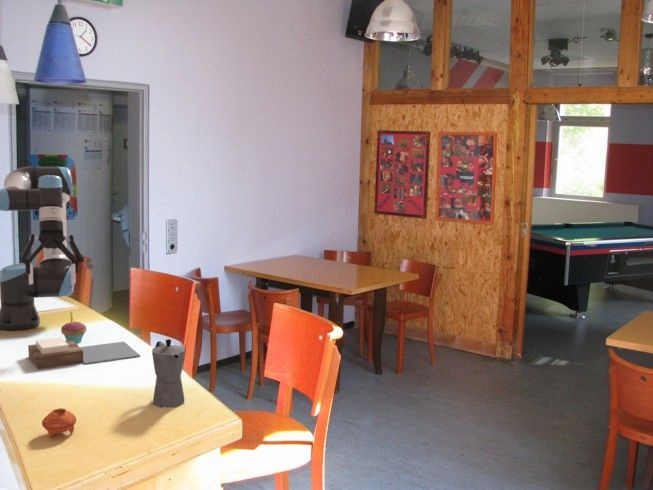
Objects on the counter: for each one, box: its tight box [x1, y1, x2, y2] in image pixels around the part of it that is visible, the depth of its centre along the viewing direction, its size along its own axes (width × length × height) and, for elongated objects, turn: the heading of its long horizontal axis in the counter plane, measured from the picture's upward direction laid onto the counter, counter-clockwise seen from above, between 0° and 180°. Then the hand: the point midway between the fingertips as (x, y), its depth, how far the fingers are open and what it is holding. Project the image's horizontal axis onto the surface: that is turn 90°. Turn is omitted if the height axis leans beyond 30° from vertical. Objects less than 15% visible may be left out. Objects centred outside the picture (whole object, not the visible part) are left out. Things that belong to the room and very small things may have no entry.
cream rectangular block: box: [35, 336, 69, 354], centre depth 234 cm, size 10×8×2 cm
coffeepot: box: [151, 338, 186, 408], centre depth 201 cm, size 15×9×18 cm, turn 33°
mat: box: [79, 341, 141, 365], centre depth 243 cm, size 18×18×1 cm
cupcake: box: [60, 310, 87, 344], centre depth 254 cm, size 9×8×12 cm
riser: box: [27, 340, 84, 370], centre depth 235 cm, size 14×14×4 cm
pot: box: [41, 407, 77, 438], centre depth 178 cm, size 8×8×7 cm
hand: (52, 283), depth 241 cm, fingers open, 13 cm apart
